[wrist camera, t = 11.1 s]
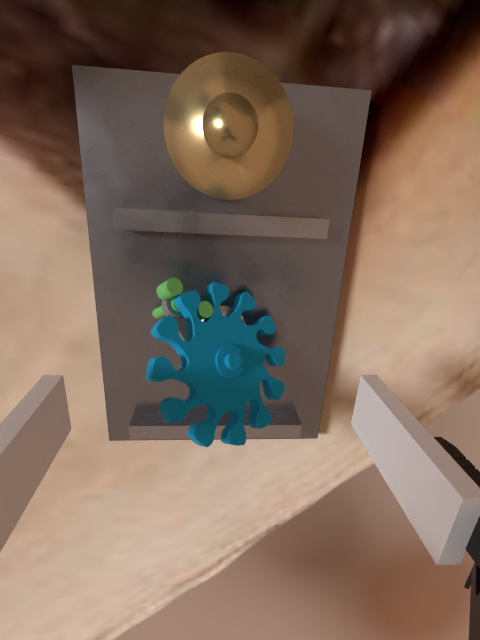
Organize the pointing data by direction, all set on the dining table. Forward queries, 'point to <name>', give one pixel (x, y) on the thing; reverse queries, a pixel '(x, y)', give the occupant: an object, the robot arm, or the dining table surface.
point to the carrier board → (217, 223)
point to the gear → (214, 360)
